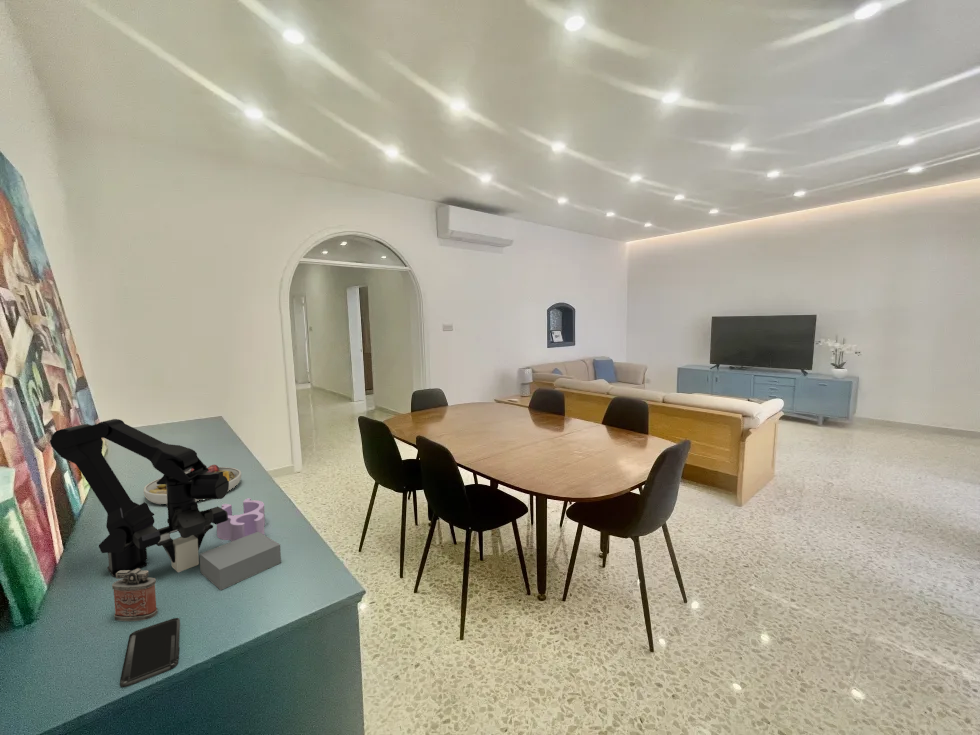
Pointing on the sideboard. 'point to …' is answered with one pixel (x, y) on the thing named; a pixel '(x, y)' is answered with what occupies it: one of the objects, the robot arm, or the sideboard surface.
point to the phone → (151, 652)
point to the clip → (242, 521)
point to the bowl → (159, 491)
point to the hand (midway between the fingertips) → (184, 557)
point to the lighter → (134, 596)
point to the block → (185, 553)
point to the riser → (239, 559)
